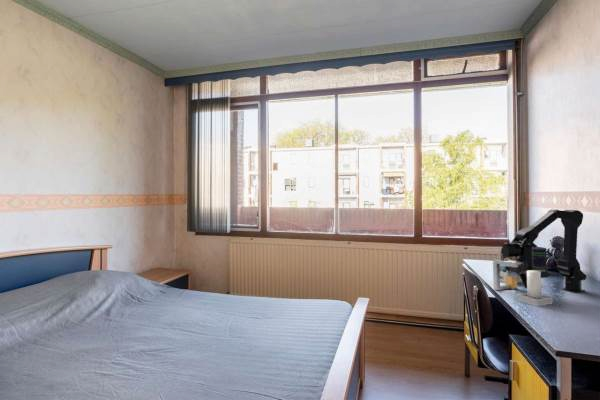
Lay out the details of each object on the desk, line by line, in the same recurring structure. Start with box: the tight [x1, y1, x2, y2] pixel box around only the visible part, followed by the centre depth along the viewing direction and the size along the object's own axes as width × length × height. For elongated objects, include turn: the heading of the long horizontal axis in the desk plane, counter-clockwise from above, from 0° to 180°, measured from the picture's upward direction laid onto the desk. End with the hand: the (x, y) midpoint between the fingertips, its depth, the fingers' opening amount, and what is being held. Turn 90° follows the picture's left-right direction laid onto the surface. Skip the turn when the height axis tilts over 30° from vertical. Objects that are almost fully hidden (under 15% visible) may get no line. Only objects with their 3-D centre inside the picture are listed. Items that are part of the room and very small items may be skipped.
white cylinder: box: [525, 270, 544, 300], centre depth 143 cm, size 7×7×13 cm
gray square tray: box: [516, 292, 554, 307], centre depth 143 cm, size 9×9×2 cm
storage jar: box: [533, 246, 548, 271], centre depth 195 cm, size 10×10×15 cm
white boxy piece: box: [492, 259, 518, 291], centre depth 159 cm, size 13×13×15 cm
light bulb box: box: [500, 260, 523, 284], centre depth 177 cm, size 11×7×11 cm, turn 105°
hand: (526, 287), depth 157 cm, fingers closed
